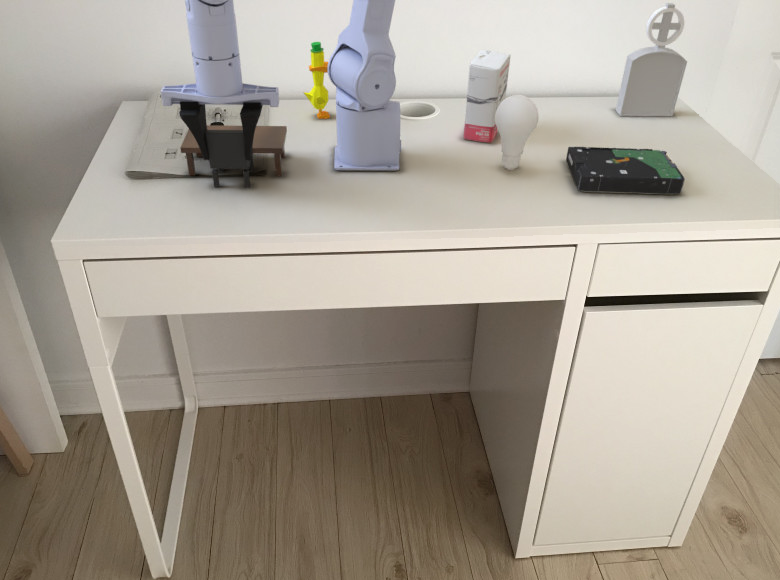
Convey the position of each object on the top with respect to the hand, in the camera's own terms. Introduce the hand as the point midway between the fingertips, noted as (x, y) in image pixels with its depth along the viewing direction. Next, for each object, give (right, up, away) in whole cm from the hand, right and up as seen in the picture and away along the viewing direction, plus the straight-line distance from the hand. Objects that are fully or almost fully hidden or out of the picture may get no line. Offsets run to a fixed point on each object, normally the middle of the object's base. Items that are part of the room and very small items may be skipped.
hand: (228, 157), depth 97 cm
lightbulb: (+39, 0, +10) cm, 41 cm away
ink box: (+37, +9, +21) cm, 43 cm away
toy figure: (+10, +13, +24) cm, 29 cm away
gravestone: (+66, +15, +30) cm, 74 cm away
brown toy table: (-1, +1, +8) cm, 8 cm away
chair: (0, -2, +5) cm, 5 cm away
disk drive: (+56, -1, +9) cm, 56 cm away
